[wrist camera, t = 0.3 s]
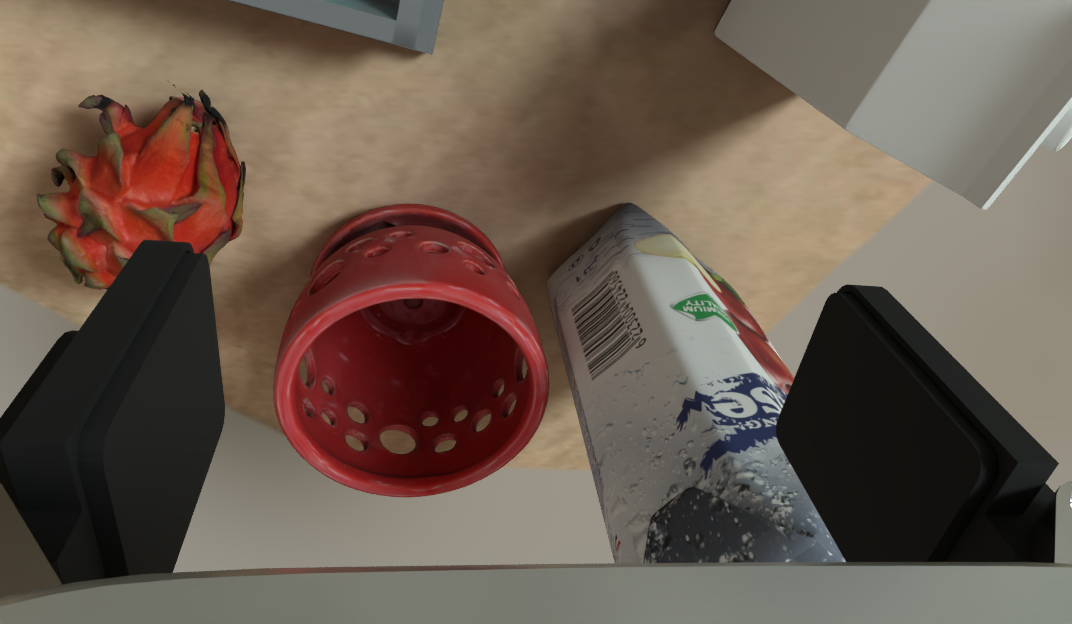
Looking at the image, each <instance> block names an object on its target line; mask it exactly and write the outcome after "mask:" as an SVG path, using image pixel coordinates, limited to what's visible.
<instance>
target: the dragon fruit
mask: <svg viewBox="0 0 1072 624" xmlns="http://www.w3.org/2000/svg"><path fill="white" fill-rule="evenodd" d="M169 83H170V82H169ZM174 86H175V85H174ZM186 93H187V92H186ZM182 94H183V93H182ZM187 94H188V93H187ZM188 95H189V94H188ZM183 96H184V98H179V97H172V96H170V98H169V100H170V101H168V102H167V103H166V104H165V105H164V106H163V108H162V109H161V110H160V112H159V113H158V115H157V116H156V118H155V119H154V120H153V121H152V122H151V123H150V124H149V125H148V126H147V127H145V128H141V127H137V126H136V125H135V123H134V121H133V119H132V116H131V112H130V109H129V108H128V106H127V105H125V108H124V107H123V106H122V105H121V104H119V103H118V102H115V101H114V100H112V99H110V98H108V97H105V96H103V95H97V96H95V95H92V96H89V97H87V98H86V99H85V100H84V101H83V102H81V103H80V104H79V105H78V107H82V108H83V107H84V108H86V109H91V108H98V109H100V110H102V111H103V112H102V114H101V115H100V119H99V120H100V123H101V125H102V127H103V129H104V131H105V132H106V134H108V136H106V137H102V139H101V140H100V141H99V143H98V155H97V156H94V157H87V156H84V155H82V154H79V153H77V152H75V151H72V150H66V149H61V150H60V151H58V152H57V154H56V159H57V161H58V162H59V163H61V164H62V166H60V167H57V168H53V169H52V174H51V176H52V180H53V182H54V184H55V185H56V186H58V187H59V186H60V185H61V184H62V182H63V180H64V178H66V180H67V181H68V184H69V185H70V191H69V192H67V193H50V194H46V195H40V194H37V201H38V205H39V207H40V208H41V209H42V211H43V213H44V215H45V217H46V218H47V219H50V220H52V221H54V222H55V223H57V226H56V227H55V228H54V229H53V230H52V231H51V232H50V233H49V235H48V240H49V241H50V243H51V244H52V245H53V246H54V247H55V248H56V249H58V250H59V251H60V253H61V256H60V259H61V261H62V262H63V263H64V264H65V266H67V267H68V269H69V270H70V272H71V273H72V275H73V277H74V279H75V282H76V283H77V284H80V283H81V282H82V277H83V275H85V281H86V283H85V285H84V286H86V287H90V288H93V289H99V290H100V289H108V288H109V287H110V286H111V284H112V283H113V281H114V280H115V279H116V277H117V276H118V274H119V273H120V271H121V270H122V269H123V267H124V266H125V264H126V263H127V262H128V260H129V259H130V257H131V256H132V254H133V253H134V252H135V250H136V249H137V247H138V246H139V244H140V243H141V242H142V241H143V240H159V241H174V242H189V243H190V244H191V245H192V247H193V249H194V253H200V254H206V256H207V258H208V261H209V267H210V264H211V261H212V259H213V257H214V256H215V255H216V254H217V252H218V251H219V250H220V249H221V248H223V247H224V246H225V245H226V244H227V243H228V242H229V241H231V240H233V239H236V238H237V237H238V236H239V235H240V234H241V231H242V224H243V220H242V213H243V197H244V193H243V189H244V184H245V173H246V167H245V163H244V162H241V166H240V164H239V161H238V158H237V155H236V152H235V150H234V147H233V146H232V143H231V140H230V137H229V131H228V127H227V124H226V122H225V120H224V119H223V117H222V116H221V115H220V113H219V112H218V111H217V110H216V109H215V108H213V107H211V106H210V105H211V102H210V99H209V97H208V96H207V95H206V94H205V92H204V91H203V90H201V91H200V92H199V96H200V99H201V102H200V101H197V100H194V98H192V97H191V96H190V95H189V96H190V98H189V97H188V96H187V95H185V94H183ZM240 180H241V181H240Z"/></svg>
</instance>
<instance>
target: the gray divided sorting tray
mask: <svg viewBox="0 0 1072 624" xmlns="http://www.w3.org/2000/svg"><path fill="white" fill-rule="evenodd" d="M229 1H232V2H236V3H240V4H244V5H247V6H251V7H255V8H259V9H262V10H266V11H270V12H274V13H277V14H281V15H285V16H289V17H292V18H296V19H300V20H304V21H307V22H311V23H315V24H319V25H322V26H326V27H330V28H334V29H337V30H341V31H345V32H349V33H352V34H356V35H360V36H364V37H367V38H371V39H375V40H379V41H382V42H386V43H390V44H394V45H397V46H401V47H405V48H409V49H412V50H416V51H420V52H424V53H427V54H431V55H432V53H433V49H434V44H435V39H436V35H437V30H438V25H439V21H440V16H441V11H442V6H443V2H444V0H229Z"/></svg>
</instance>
